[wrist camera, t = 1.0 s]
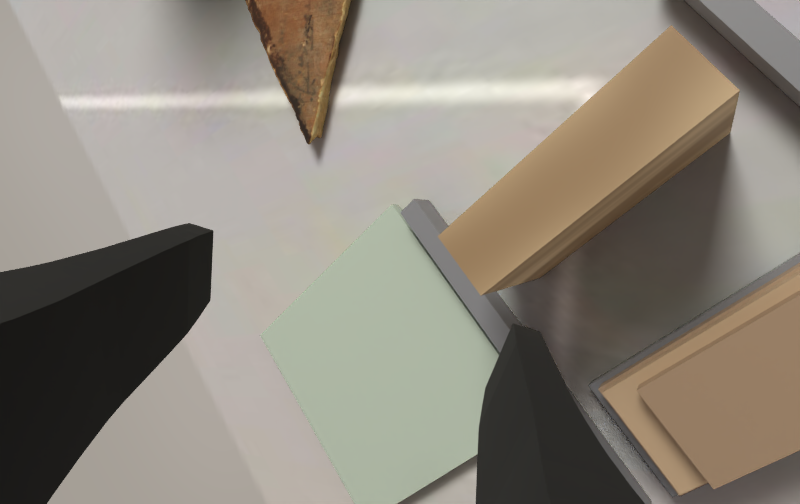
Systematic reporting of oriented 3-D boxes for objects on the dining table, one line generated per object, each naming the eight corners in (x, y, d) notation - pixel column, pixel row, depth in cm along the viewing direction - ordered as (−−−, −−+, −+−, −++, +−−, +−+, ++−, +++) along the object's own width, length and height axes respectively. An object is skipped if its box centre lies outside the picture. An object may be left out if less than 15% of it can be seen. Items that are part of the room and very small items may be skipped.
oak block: (730, 133, 19) (739, 90, 13) (540, 277, 23) (480, 295, 17) (682, 86, 20) (671, 25, 14) (506, 234, 24) (437, 236, 18)
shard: (325, 148, 29) (304, 143, 28) (236, 115, 33) (213, 109, 31) (380, -55, 27) (360, -72, 25) (277, -68, 31) (254, -83, 29)
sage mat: (545, 410, 23) (541, 414, 23) (371, 517, 28) (365, 523, 28) (398, 204, 26) (391, 204, 26) (267, 333, 32) (260, 335, 31)
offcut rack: (1072, 302, 15) (1147, 317, 12) (630, 510, 21) (619, 549, 19) (684, -44, 20) (680, -85, 17) (415, 213, 26) (383, 211, 23)
